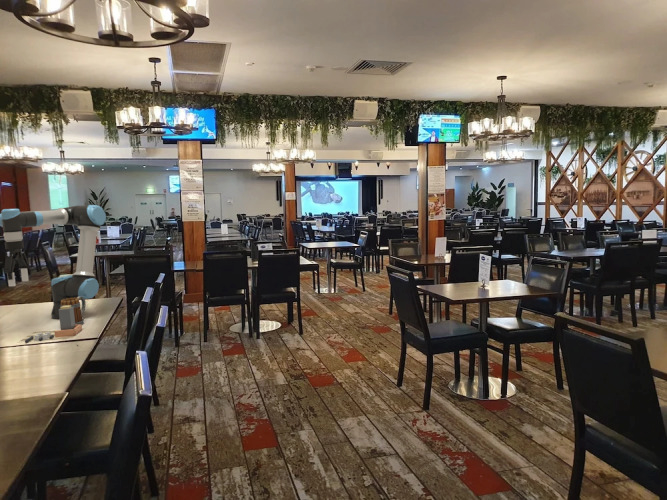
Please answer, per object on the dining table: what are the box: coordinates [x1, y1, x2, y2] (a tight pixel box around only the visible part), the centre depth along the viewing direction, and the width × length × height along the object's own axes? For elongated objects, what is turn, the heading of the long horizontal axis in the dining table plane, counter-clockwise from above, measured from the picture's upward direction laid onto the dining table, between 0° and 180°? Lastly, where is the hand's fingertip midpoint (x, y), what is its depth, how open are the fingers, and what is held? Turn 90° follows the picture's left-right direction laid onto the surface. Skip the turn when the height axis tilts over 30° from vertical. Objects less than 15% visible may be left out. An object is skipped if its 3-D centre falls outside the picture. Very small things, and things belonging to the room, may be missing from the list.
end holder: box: [54, 324, 83, 337], centre depth 239 cm, size 10×9×3 cm
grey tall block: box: [58, 305, 76, 330], centre depth 238 cm, size 5×5×13 cm
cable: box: [24, 335, 54, 344], centre depth 230 cm, size 7×11×1 cm
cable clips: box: [34, 332, 51, 342], centre depth 231 cm, size 4×6×2 cm
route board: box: [17, 327, 85, 343], centre depth 238 cm, size 18×24×1 cm
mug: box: [61, 297, 87, 325], centre depth 257 cm, size 16×11×15 cm
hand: (19, 283), depth 238 cm, fingers open, 13 cm apart
